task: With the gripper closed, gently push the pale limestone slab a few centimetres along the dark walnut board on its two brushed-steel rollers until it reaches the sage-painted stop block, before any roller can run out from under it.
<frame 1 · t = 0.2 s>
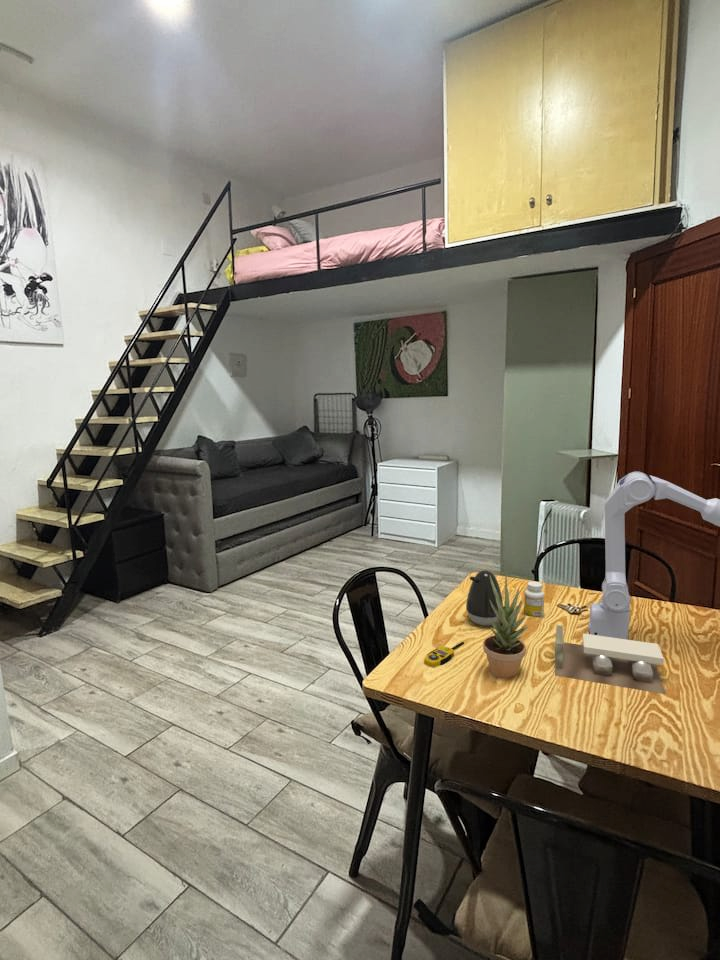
slab: (620, 651, 118), point 5 cm above the table, touching roller 1, roller 2
supplement bottle: (533, 616, 149), on the table
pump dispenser: (483, 622, 145), on the table
yellow walkie-talkie: (446, 656, 128), on the table
board: (605, 668, 120), on the table
roller 2: (639, 670, 117), point 1 cm above the table, touching board, slab
roller 1: (600, 664, 120), point 1 cm above the table, touching board, slab
potted plant: (503, 674, 119), on the table
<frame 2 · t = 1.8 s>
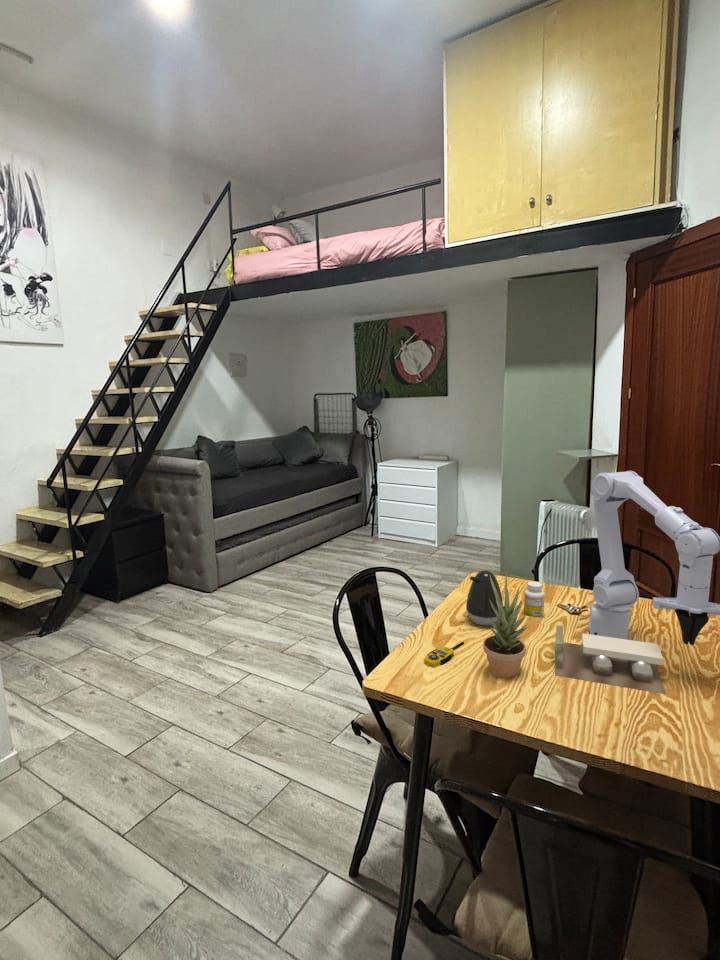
hand: (687, 642, 113), 9 cm above the table, tool pointing down, fingers closed
nothing on the table moved.
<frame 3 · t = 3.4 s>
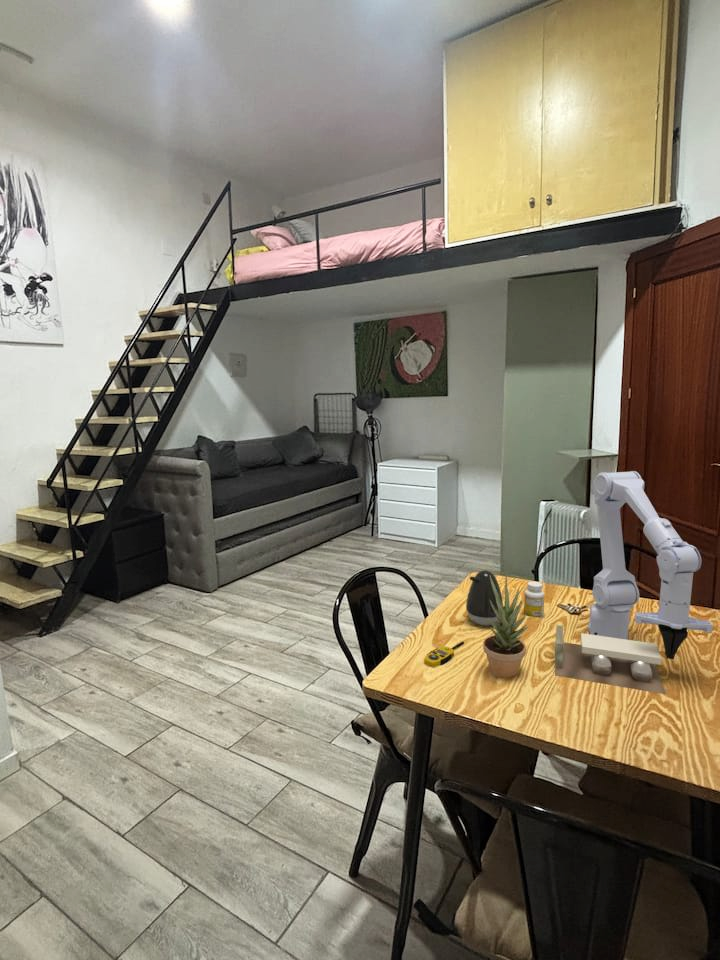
hand: (669, 656, 115), 5 cm above the table, tool pointing down, fingers closed
nothing on the table moved.
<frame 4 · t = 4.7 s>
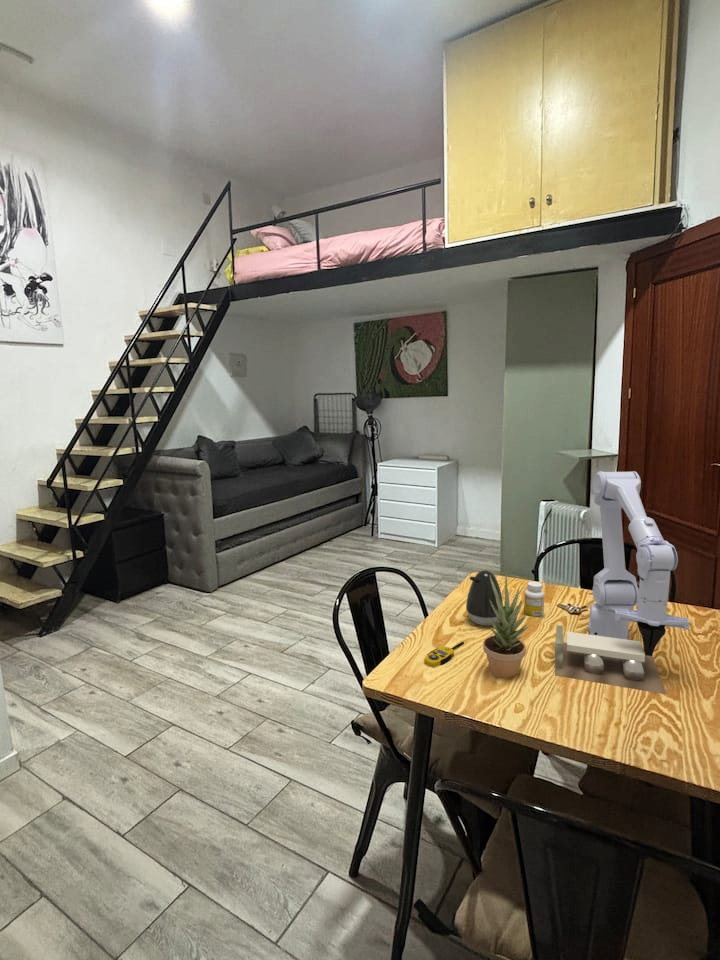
hand: (648, 653, 116), 5 cm above the table, tool pointing down, fingers closed
slab: (603, 649, 119), point 5 cm above the table, touching roller 1
roller 2: (638, 667, 117), point 2 cm above the table, tilted 51°, touching board
roller 1: (599, 661, 120), point 2 cm above the table, tilted 52°, touching board, slab
everything else where it was.
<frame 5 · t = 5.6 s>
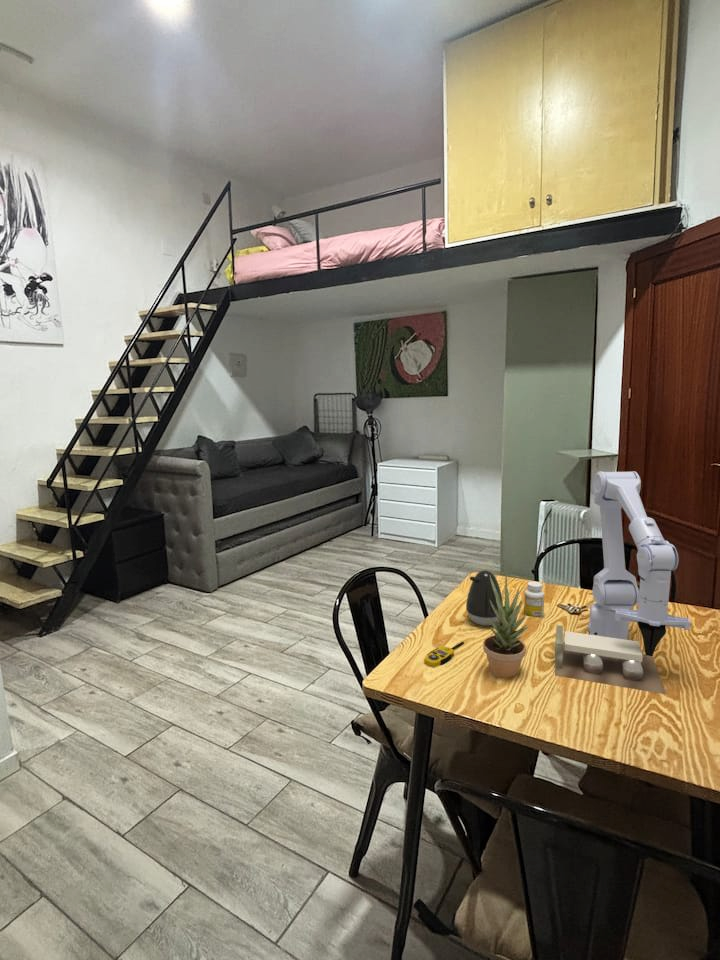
hand: (648, 653, 116), 5 cm above the table, tool pointing down, fingers closed
slab: (601, 648, 120), point 5 cm above the table, touching roller 1, roller 2
roller 2: (637, 666, 117), point 2 cm above the table, tilted 55°, touching board, slab
roller 1: (599, 660, 120), point 2 cm above the table, tilted 58°, touching board, slab
everything else where it was.
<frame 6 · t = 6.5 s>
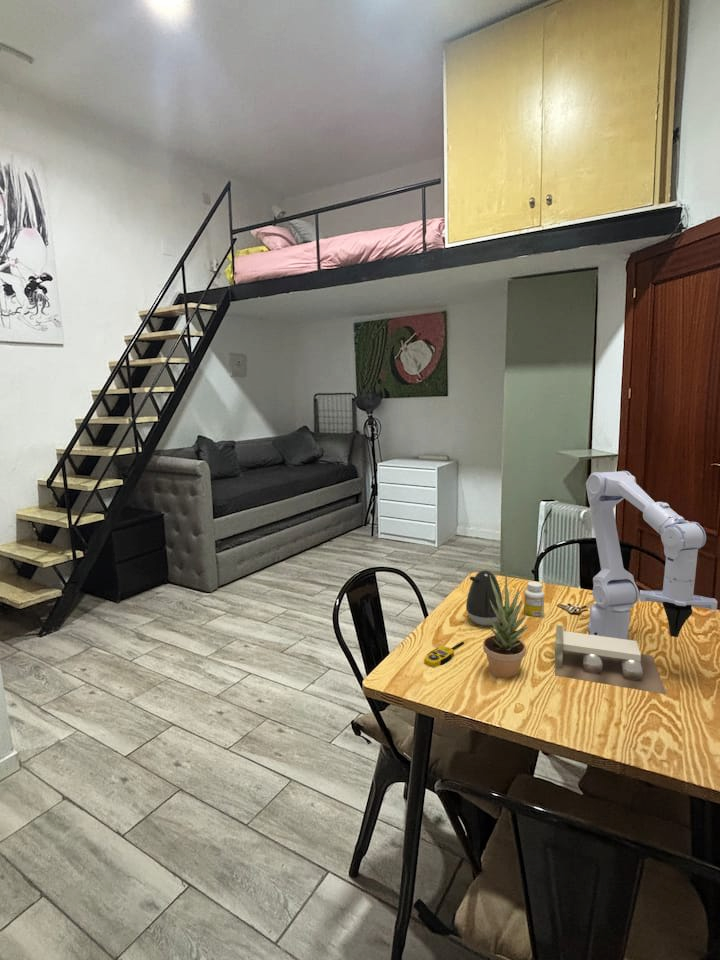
hand: (673, 634, 114), 10 cm above the table, tool pointing down, fingers closed
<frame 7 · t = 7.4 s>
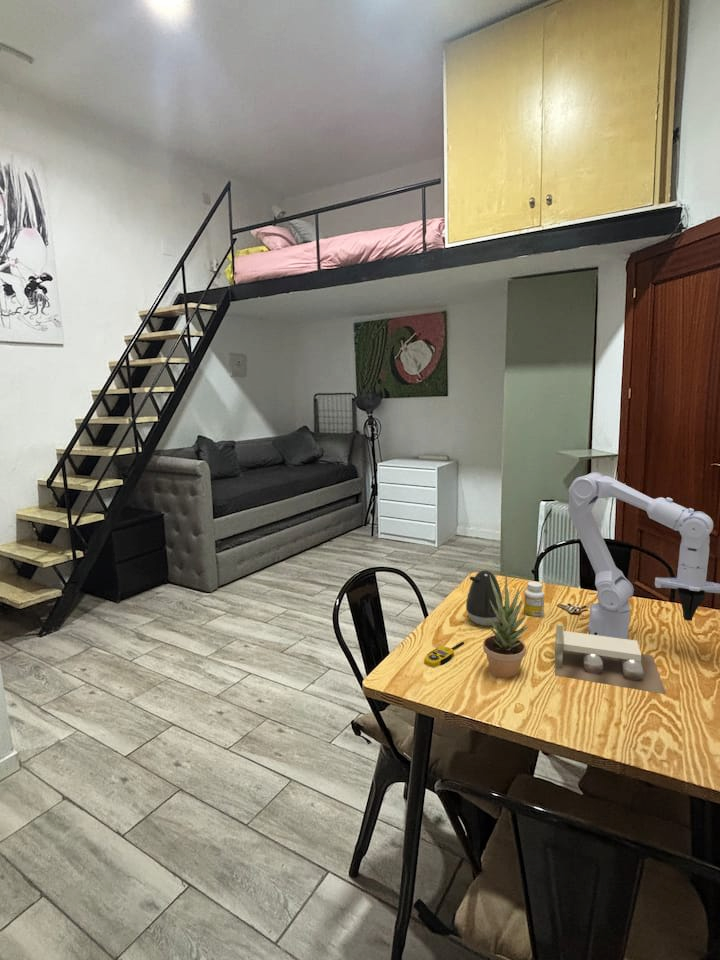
hand: (687, 618, 122), 10 cm above the table, tool pointing down, fingers closed
slab: (600, 648, 120), point 5 cm above the table, touching roller 1
roller 2: (637, 667, 117), point 2 cm above the table, tilted 53°, touching board
everything else where it was.
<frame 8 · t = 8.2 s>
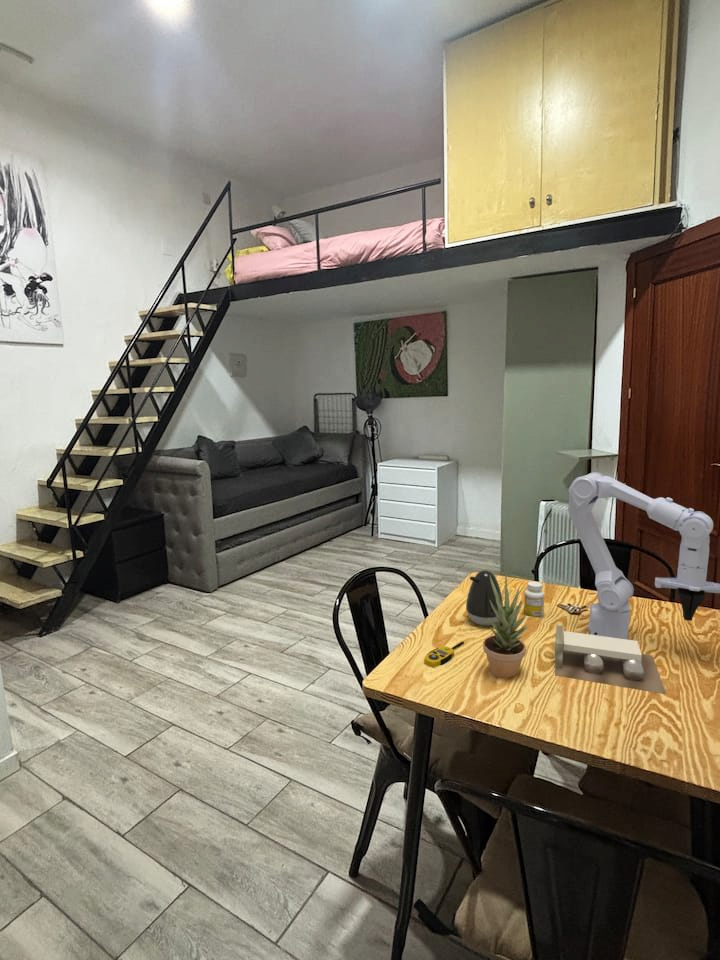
hand: (687, 618, 122), 10 cm above the table, tool pointing down, fingers closed
slab: (600, 648, 120), point 5 cm above the table, touching roller 1, roller 2
roller 2: (638, 667, 117), point 2 cm above the table, tilted 50°, touching board, slab
everything else where it was.
at the end: slab 0.7 cm from the target spot, point 4.9 cm above the table; slab tilted 1°; slab touching roller 1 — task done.
